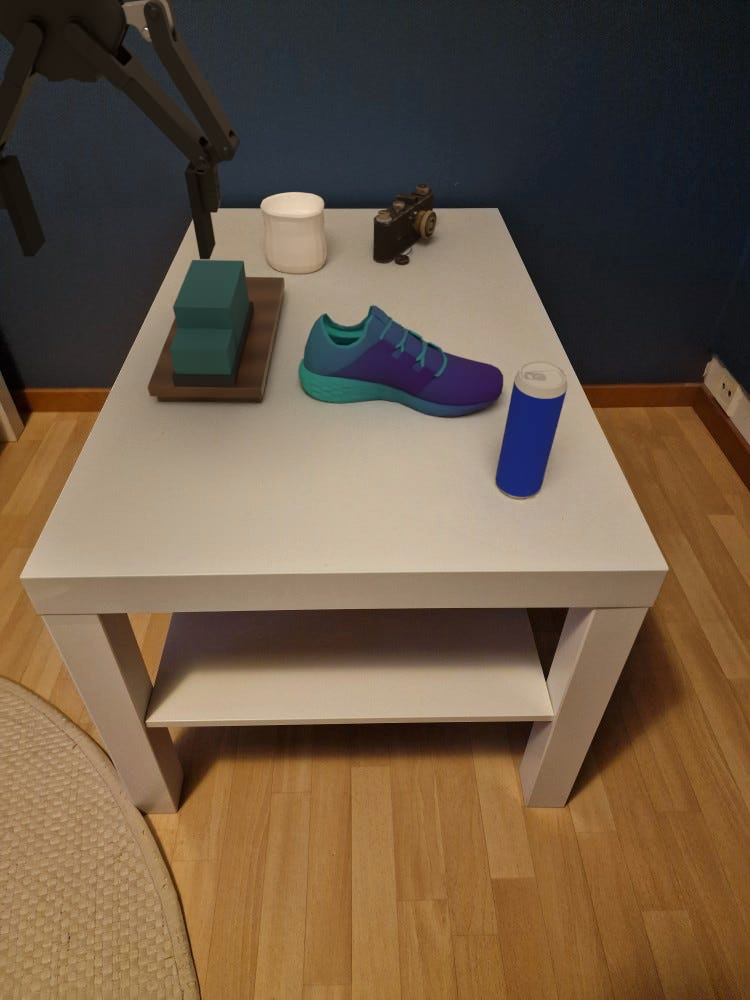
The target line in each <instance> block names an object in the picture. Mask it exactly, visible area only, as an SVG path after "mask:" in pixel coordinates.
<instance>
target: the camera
mask: <svg viewBox="0 0 750 1000" xmlns="http://www.w3.org/2000/svg"><path fill="white" fill-rule="evenodd" d="M434 196H435V191H434V189H432V188H430V187H429V185H428V184H425V183H420V184H417V185H416V189H415V190H412V192H410V193H397V194H396V196H395V199H396V201H393V202H392V205H391V206H389V207H388V208H386V209H379V210H378V211H377V215H375V216H374V217H373V250H372V251H373V255H372V259H373V261H375V262H377V263H378V264H388V263H391V262H392V261H393V260H394V263H395V264H397V265H400V266H403V265H407V264H408V263H409V262H410V257H409V256H408V255H409V254H410V253H411V252H412V250H413V245H414V244H416V243H418V242H419V241H420V240H421V239H423V238H424V239H429V238H431V237H432V235H433V234H434V231H435V230H436V227H437V221H438V220H437V214H436V212H435V211H434V198H435V197H434ZM409 248H410V250H409V252H407V253H406V254H404V252H405V251H407V250H408V249H409Z"/></svg>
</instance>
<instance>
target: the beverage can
mask: <svg viewBox="0 0 750 1000" xmlns="http://www.w3.org/2000/svg"><path fill="white" fill-rule="evenodd" d="M567 391H568V380H567V374H566V372H565V371H564V370H563V368H561V367H560V366H558V365H556V364H554V363H552V362H548V361H544V360H534V361H529V362H526V363H524V364H523V365H522V366H521V367H520V368H519V369H518V371H517V372H516V374H515V376H514V380H513V385H512V390H511V394H510V395H511V396H510V400H509V406H508V411H507V415H506V421H505V426H504V430H503V431H504V432H503V436H502V441H501V447H500V453H499V457H498V462H497V466H496V471H495V472H496V473H495V477H494V478H495V484H496V485H497V487H498V488H499V490H500V491H501V492H502V493H503V494H505V495H507V496H509V497H511V498H513V499H528V498H530V497H532V496H534V495H536V494H537V493H539V491H540V490H541V488H542V485H543V482H544V478H545V475H546V470H547V467H548V462H549V460H550V455H551V451H552V447H553V444H554V440H555V435H556V433H557V430H558V425H559V422H560V417H561V413H562V410H563V406H564V402H565V398H566V394H567Z"/></svg>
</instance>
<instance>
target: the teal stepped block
mask: <svg viewBox="0 0 750 1000" xmlns="http://www.w3.org/2000/svg"><path fill="white" fill-rule="evenodd" d="M246 277H247V275H246V268H245V261H244V260H228V259H227V260H225V259H224V260H223V259H222V260H221V259H219V260H218V259H192V260H191V262H190V264H189V266H188V269H187V272H186V274H185V277H184V278H183V282H182V285H181V286H180V288H179V291H178V294H177V296H176V299H175V301H174V304H173V306H172V309H173V315H174V319H176V323H177V331H176V334H175V336H174V339H173V341H172V344H171V347H170V354H171V358H172V362H173V366H174V372H173V374H172V379H173V383H174V386H195V387H235V385H236V381H237V377H238V373H239V369H240V365H241V361H242V357H243V353H244V349H245V345H246V341H247V337H248V333H249V329H250V325H251V321H252V317H253V313H254V306H253V301H249V298H248V291H247V283H246Z"/></svg>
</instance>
